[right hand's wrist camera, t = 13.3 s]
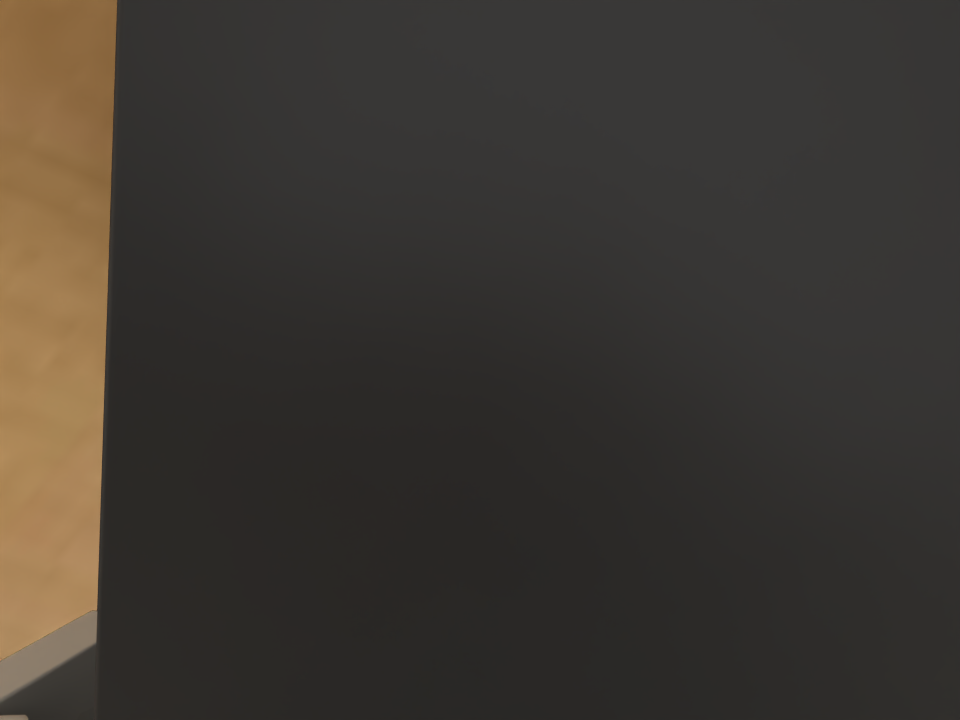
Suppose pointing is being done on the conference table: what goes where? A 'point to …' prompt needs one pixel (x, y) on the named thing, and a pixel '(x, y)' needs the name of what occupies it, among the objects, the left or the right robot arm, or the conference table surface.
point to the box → (532, 361)
